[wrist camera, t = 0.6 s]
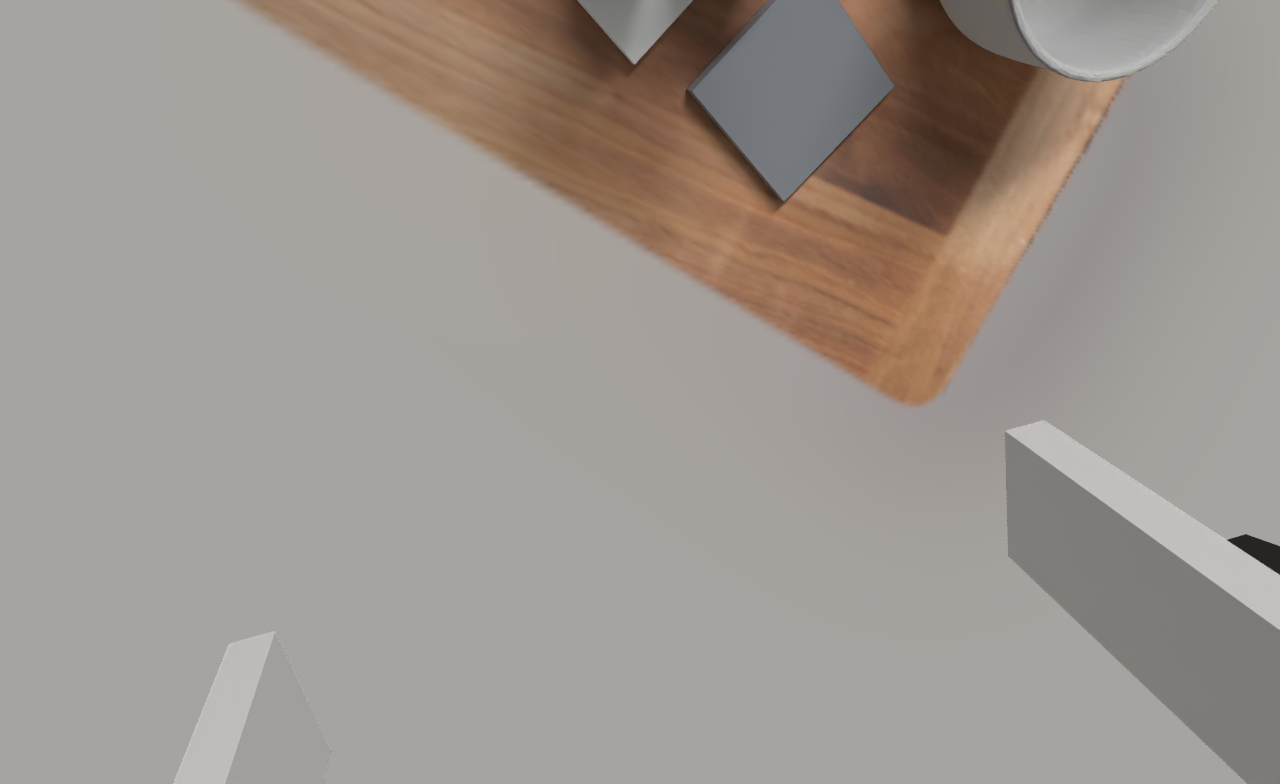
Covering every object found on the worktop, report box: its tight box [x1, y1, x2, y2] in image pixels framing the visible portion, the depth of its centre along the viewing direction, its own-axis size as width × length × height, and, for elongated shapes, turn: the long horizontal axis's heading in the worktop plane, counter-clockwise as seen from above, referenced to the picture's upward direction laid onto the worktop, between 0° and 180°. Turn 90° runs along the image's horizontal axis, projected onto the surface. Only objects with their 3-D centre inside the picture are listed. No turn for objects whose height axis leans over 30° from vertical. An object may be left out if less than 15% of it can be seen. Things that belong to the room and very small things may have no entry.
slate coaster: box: [687, 0, 894, 201], centre depth 37 cm, size 7×7×1 cm
